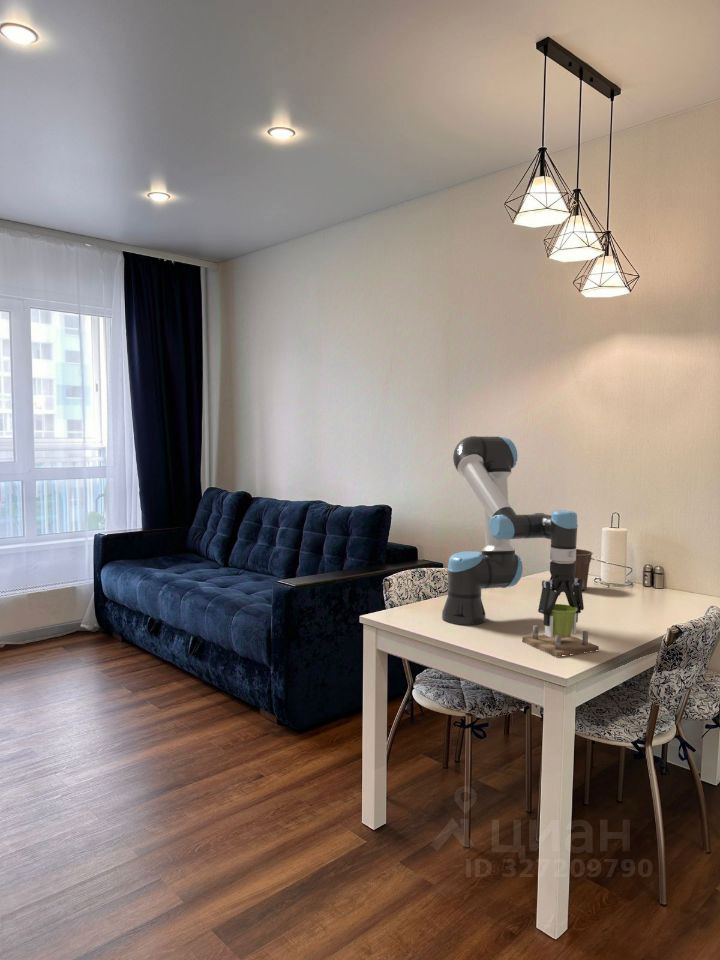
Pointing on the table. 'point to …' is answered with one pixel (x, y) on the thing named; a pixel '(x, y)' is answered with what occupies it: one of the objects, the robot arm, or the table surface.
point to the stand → (560, 643)
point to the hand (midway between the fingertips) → (560, 634)
